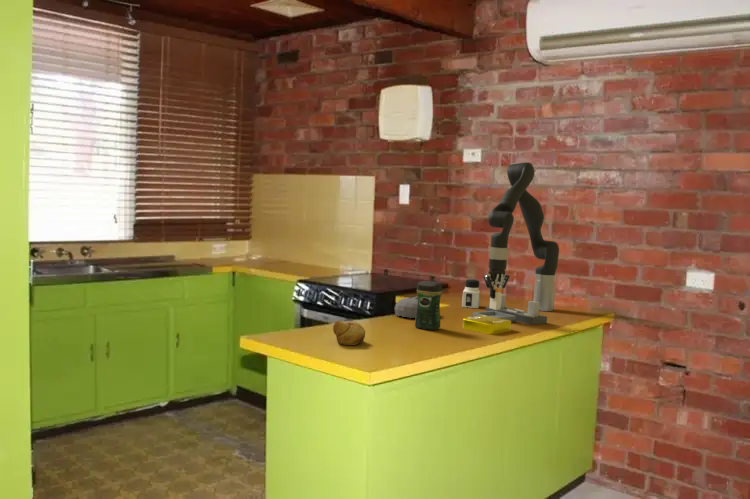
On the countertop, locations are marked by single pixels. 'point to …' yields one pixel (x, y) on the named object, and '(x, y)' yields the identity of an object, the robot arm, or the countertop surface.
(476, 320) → the element tile
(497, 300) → the block
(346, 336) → the bread roll
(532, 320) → the fuse holder
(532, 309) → the block
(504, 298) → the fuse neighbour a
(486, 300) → the countertop surface
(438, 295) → the coffee jar
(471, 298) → the container
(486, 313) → the tray
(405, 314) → the soft grey pack
